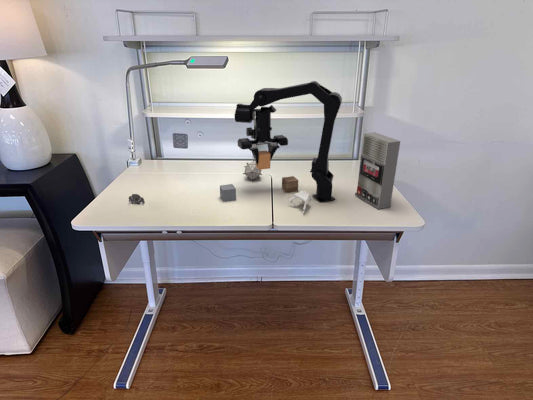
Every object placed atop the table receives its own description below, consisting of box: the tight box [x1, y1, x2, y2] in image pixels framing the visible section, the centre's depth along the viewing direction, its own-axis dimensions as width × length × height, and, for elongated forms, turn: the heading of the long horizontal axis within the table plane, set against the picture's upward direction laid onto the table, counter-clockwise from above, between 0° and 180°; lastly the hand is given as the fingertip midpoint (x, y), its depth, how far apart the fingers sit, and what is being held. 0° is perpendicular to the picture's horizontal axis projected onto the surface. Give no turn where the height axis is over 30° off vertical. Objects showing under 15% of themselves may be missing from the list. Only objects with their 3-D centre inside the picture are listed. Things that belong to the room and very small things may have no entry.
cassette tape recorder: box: [354, 132, 401, 210], centre depth 138 cm, size 14×6×25 cm, turn 24°
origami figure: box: [288, 189, 313, 214], centre depth 137 cm, size 12×8×5 cm
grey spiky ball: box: [242, 159, 263, 182], centre depth 163 cm, size 9×8×10 cm
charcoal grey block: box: [219, 183, 237, 203], centre depth 144 cm, size 5×5×5 cm
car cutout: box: [128, 193, 146, 207], centre depth 138 cm, size 15×7×4 cm, turn 79°
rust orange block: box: [256, 150, 271, 171], centre depth 146 cm, size 4×4×6 cm
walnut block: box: [281, 175, 299, 194], centre depth 152 cm, size 5×5×5 cm
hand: (262, 163), depth 146 cm, fingers closed on rust orange block, 4 cm apart
